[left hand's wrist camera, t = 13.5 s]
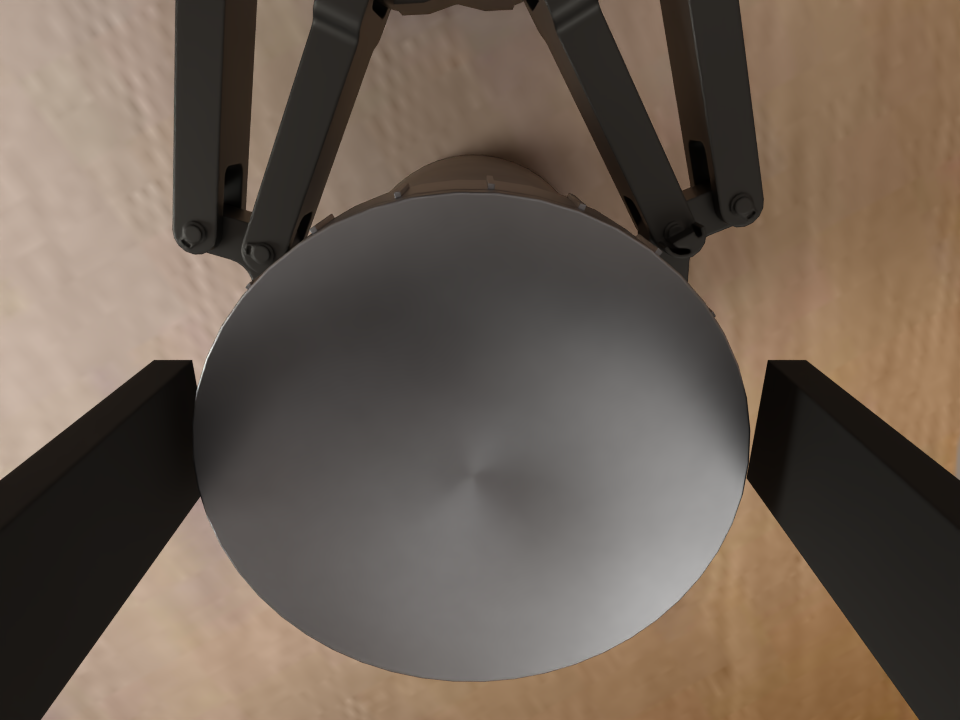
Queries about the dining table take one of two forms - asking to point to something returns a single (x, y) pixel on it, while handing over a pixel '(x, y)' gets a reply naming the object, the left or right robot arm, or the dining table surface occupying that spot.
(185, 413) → the left robot arm
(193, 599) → the dining table surface
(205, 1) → the right robot arm
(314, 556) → the lid
